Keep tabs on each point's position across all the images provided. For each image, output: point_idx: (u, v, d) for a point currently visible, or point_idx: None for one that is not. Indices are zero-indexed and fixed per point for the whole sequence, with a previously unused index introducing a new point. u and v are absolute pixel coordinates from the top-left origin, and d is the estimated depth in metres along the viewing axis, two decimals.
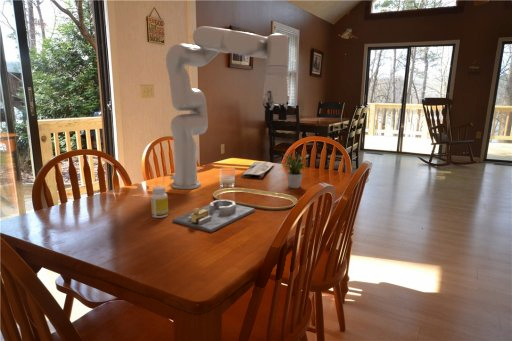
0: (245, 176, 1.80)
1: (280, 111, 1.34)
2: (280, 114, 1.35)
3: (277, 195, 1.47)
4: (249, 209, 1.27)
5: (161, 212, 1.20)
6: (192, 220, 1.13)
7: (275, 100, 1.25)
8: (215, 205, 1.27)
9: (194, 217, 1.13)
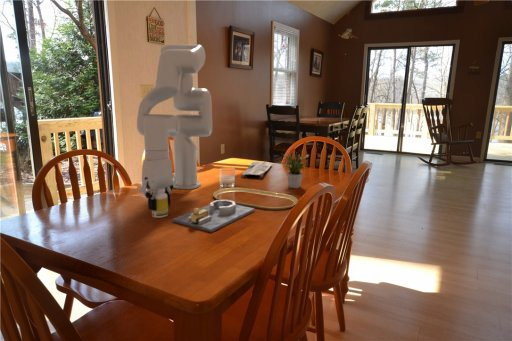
0: (245, 176, 1.80)
1: None
2: None
3: (277, 195, 1.47)
4: (249, 209, 1.27)
5: (161, 212, 1.20)
6: (192, 220, 1.13)
7: (153, 187, 1.16)
8: (215, 205, 1.27)
9: (194, 217, 1.13)
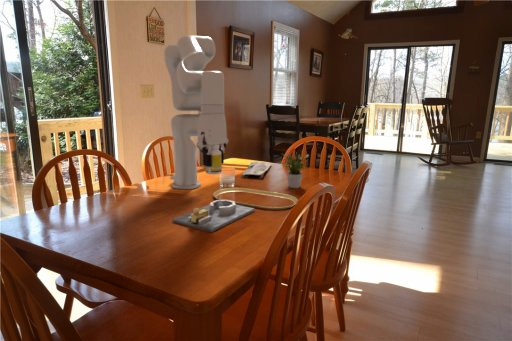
0: (245, 176, 1.80)
1: None
2: None
3: (277, 195, 1.47)
4: (249, 209, 1.27)
5: (216, 169, 1.20)
6: (192, 220, 1.13)
7: (209, 142, 1.16)
8: (215, 205, 1.27)
9: (194, 217, 1.13)
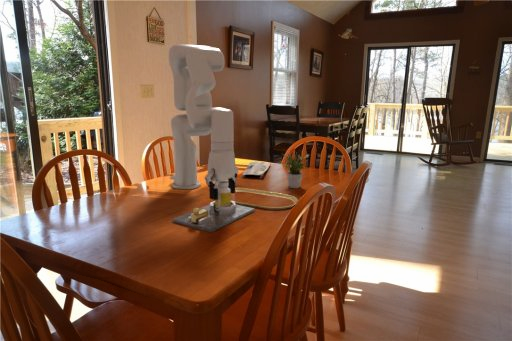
0: (244, 176, 1.80)
1: None
2: (228, 187, 1.28)
3: (277, 195, 1.47)
4: (249, 209, 1.27)
5: None
6: (192, 220, 1.13)
7: (219, 178, 1.19)
8: None
9: (194, 217, 1.13)
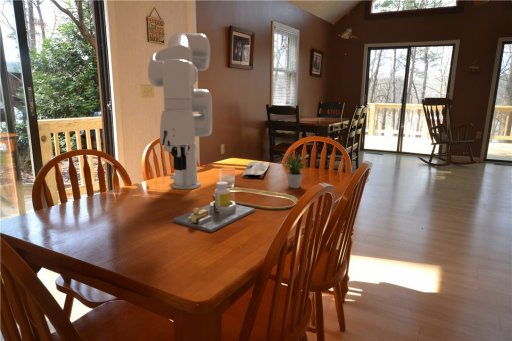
0: (245, 176, 1.80)
1: None
2: None
3: (277, 195, 1.47)
4: (249, 209, 1.27)
5: None
6: (192, 220, 1.13)
7: (173, 142, 0.99)
8: None
9: (194, 217, 1.13)
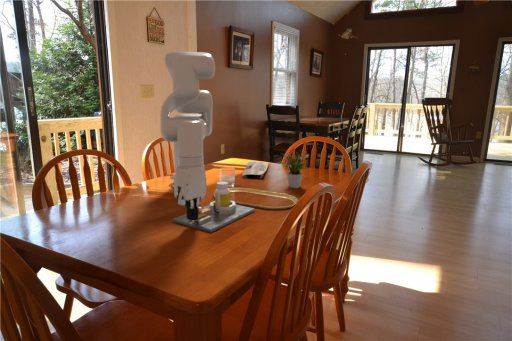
0: (245, 176, 1.80)
1: None
2: None
3: (278, 195, 1.47)
4: (249, 209, 1.27)
5: None
6: None
7: (187, 197, 1.07)
8: None
9: None
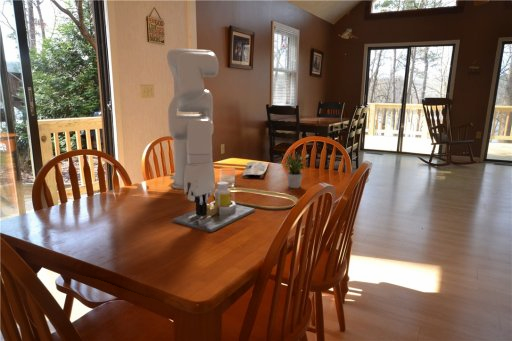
0: (245, 176, 1.80)
1: None
2: None
3: (278, 195, 1.47)
4: (249, 209, 1.27)
5: None
6: None
7: (196, 193, 1.10)
8: None
9: None
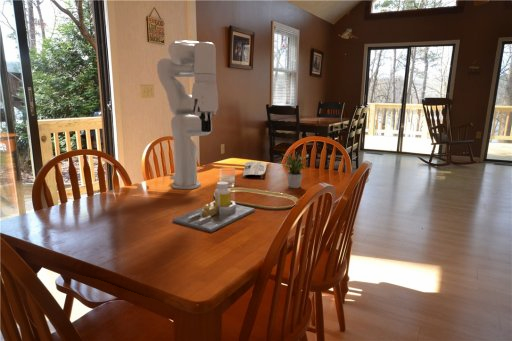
0: (245, 177, 1.80)
1: None
2: None
3: (278, 195, 1.47)
4: (249, 209, 1.27)
5: None
6: (203, 216, 1.18)
7: (202, 108, 1.25)
8: None
9: (205, 213, 1.17)
